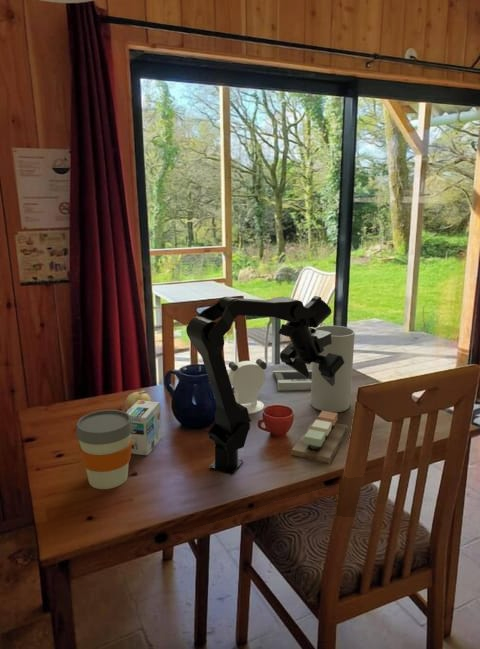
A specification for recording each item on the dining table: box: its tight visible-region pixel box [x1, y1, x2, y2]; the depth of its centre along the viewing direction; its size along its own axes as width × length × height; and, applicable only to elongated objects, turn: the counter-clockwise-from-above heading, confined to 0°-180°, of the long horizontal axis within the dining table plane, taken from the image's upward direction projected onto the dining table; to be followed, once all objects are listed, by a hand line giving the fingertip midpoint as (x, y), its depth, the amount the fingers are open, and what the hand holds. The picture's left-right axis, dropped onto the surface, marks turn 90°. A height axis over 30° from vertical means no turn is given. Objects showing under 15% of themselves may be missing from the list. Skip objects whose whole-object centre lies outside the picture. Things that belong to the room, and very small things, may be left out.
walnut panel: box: [291, 418, 348, 464], centre depth 134 cm, size 20×10×2 cm, turn 155°
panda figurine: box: [228, 358, 268, 415], centre depth 155 cm, size 12×11×15 cm
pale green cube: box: [304, 429, 326, 450], centre depth 128 cm, size 4×4×4 cm
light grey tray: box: [272, 369, 312, 391], centre depth 178 cm, size 17×5×16 cm
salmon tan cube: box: [317, 411, 339, 426], centre depth 139 cm, size 4×4×4 cm
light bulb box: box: [125, 400, 162, 456], centre depth 131 cm, size 11×7×11 cm, turn 168°
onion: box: [124, 388, 153, 411], centre depth 152 cm, size 8×8×7 cm
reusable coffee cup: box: [76, 409, 133, 490], centre depth 115 cm, size 13×13×15 cm
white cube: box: [311, 419, 332, 437], centre depth 133 cm, size 4×4×4 cm
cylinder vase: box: [310, 325, 356, 413], centre depth 155 cm, size 12×12×25 cm
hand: (320, 380), depth 137 cm, fingers open, 9 cm apart
